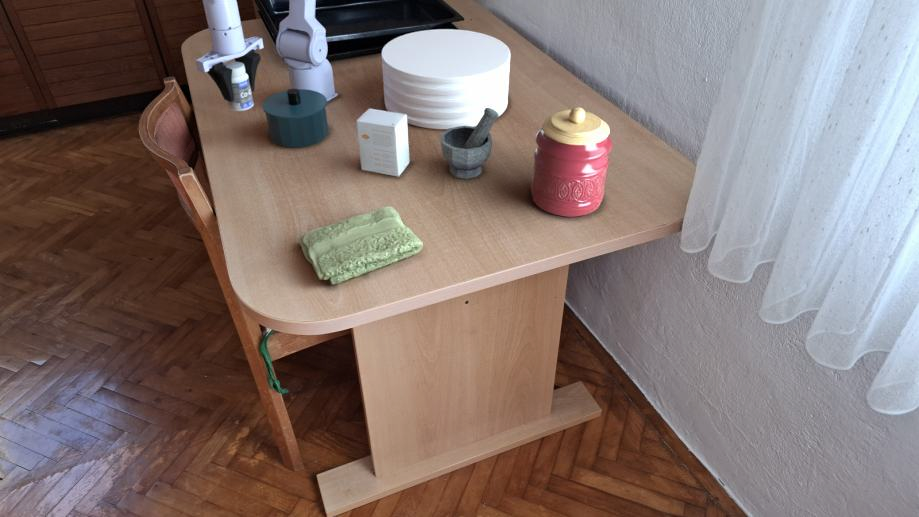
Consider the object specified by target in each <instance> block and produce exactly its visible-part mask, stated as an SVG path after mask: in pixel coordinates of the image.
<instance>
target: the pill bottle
mask: <svg viewBox="0 0 919 517" xmlns="http://www.w3.org/2000/svg"><path fill="white" fill-rule="evenodd" d="M224 65H226V68H230V69H232V88H233V94H234V101H232V102H230V101H227V104H228V108H229V109H230V110H231V111H236V112H245V111H248V110H250V109H252V108H253V107H254V105H255V103H254V97H253V92H251V87H250V82H249V76H248V74H247V73H245V66H244V64H243V63H241V62H236V61H228V62H225V63H224Z"/></svg>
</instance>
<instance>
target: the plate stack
mask: <svg viewBox="0 0 919 517" xmlns="http://www.w3.org/2000/svg"><path fill="white" fill-rule="evenodd" d="M511 56H512V55H511V49H510V48H509V46H507V45H506V43H505V42H503V41H501V40H500V39H499V38H496V37H494V36H491V35H489V34H485V33H482V32H478V31H473V30H465V29H456V28H455V29H454V28H437V29H425V30H418V31H414V32H410V33H409V32H408V33H405V34H403V35H399V36H397V37H395V38H392V39H391V40H390V41H388V42H387V43H386V44H384V45H383V48H382V49H381V62H382V64H381V68H382V70H381V71H382V82H383V98H384V100H383V101H384V107H385V109H386V111H388V112H395V113H401V114H406V115H407V125H412V126H416V127H420V128H425V129H431V130H432V129H433V130H448V129H449V128H454V127H459V126H471V127H476V126H477V124H478V123H479V121H480V120H481V118H482V116H483V115H484V110H485V109H486V108H491V109H493V110H495V111H496V112H497V113H498V114H499V116H498V118H499V117H500V116H501V115H503V113H504V112H505V111H506V109H507V108H508V105H509V104H508V103H509V84H510V71H511V70H510V69H511V63H510V62H511Z"/></svg>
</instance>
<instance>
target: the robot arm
mask: <svg viewBox="0 0 919 517" xmlns="http://www.w3.org/2000/svg"><path fill="white" fill-rule="evenodd" d="M316 2H317V0H289V4H288V7H289V8H288V15H287V16H286V17H285V18H284V19H282V20H281V21H280V22H279V25H278V26H279V27H278V34H277V36H276V40H275V48H276V52H277V54H278V55H279V57H281V58H282V59H283V62H284V64H286V65H287V70H288V78H289V84H290V89H304V90H312V91H316V92H319V93H321V94H323V95H324V96H325V97H326V99H327V102H329V101H331V100H333V99H335V98H337V97H338V96H339V93H337V92H335V90H336V89H335V80H334V73H333V67H332V64H331V63H330V61H329V60H328V59H327V56H328V48H329V47H328V42H327V38H326V36H327V35H326V33H327V30H326V28H325V27H324V26H323V25H322V24H321V23H320V22H319V21H318V19H317V18H316V4H317V3H316ZM202 5H203V9H204V13H205V17H206V22H207V26H208V30H209V35H210V40H211V43H212V45H211V50H210V51H207V53H205V54H204V55H202V56H201V57H199V58H197V59H195V65H196V68H197V71H198V72H202V73H207V74H208V75H209V77H210V78H211V80H213V82H214V84H215V85H216V86H217V88H218V90H219V92H220V94H221V96H222V98H223V100H225V101H227V102H228V101H230V102H232V101H234V94H233V88H232V69H230V68H226V65H224V64H226V63H228V62H231V61H233V60H235V61H234V62H241V63H243V64H244V66H245V73H247V74H248V76H249V82H250V87H251V92H252V93H253V92H255V87H256V86H255V85H256V84H255V83H256V75H257V71H258V67H259V64H260V61H261V54H260V53H258V52H256V50H262V49H264V48H265V47H264V42H263V41H264V40H263V38H262V37H260V36H256V35H255V36H252V37H249V38H245V37H244V33H243V32H244V31H243V26H242V22H241V16H240V11H239V6H238V1H237V0H202Z"/></svg>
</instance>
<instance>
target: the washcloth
mask: <svg viewBox="0 0 919 517" xmlns="http://www.w3.org/2000/svg"><path fill="white" fill-rule="evenodd" d="M297 241H298V242H299V244H300V246H301V250H302V252H303V255H304V257H305V259H306V260H307V262H309V263H310V264H311V266H312V267H313V270H314V271H315V273H316V275H317V278H318V280H320V281H321V280H323V281H327V280H329V282H330V284H331V285H332V286H333V285H338V284H341V283H343V282H346V281H349V280H350V279H353V278H354V279H355V278H358V277H360V276H361V275H363V274H366V273H371V272H373V271H376V269H381V268H384V267H386V266H388V265H390V264H394V263H397V262H399V261H401V260H404V259H407V258H408V259H409V257H411V256H415V255H417V254H418V253H419V252H421V251H422V250H423V247H424V245H423V244H424V243H423V241H422V240H421V238H419V237H418V236H417V235H416V234H415V233H414V231H412V229H411V228H409V227H408V226H406V225H405V224H404V223H403V219H402V217H401V215H400V213H399V212H398V211H397V210H396V209H395V208H394V207H392V206H390V205H389V206H387V205H386V206H382V207H379V208H377V209H374V210H373V211H370V212H367V213H364V214H358V215H355V216H353V217H350V218H347V219H344V220H341V221H338V222H335V223H331V224H328V225H323V226H319V227H316V228H313V229H311V230H309V231H308V232H305V233H304V234H302V235H301V236H299V237H298V239H297Z"/></svg>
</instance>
